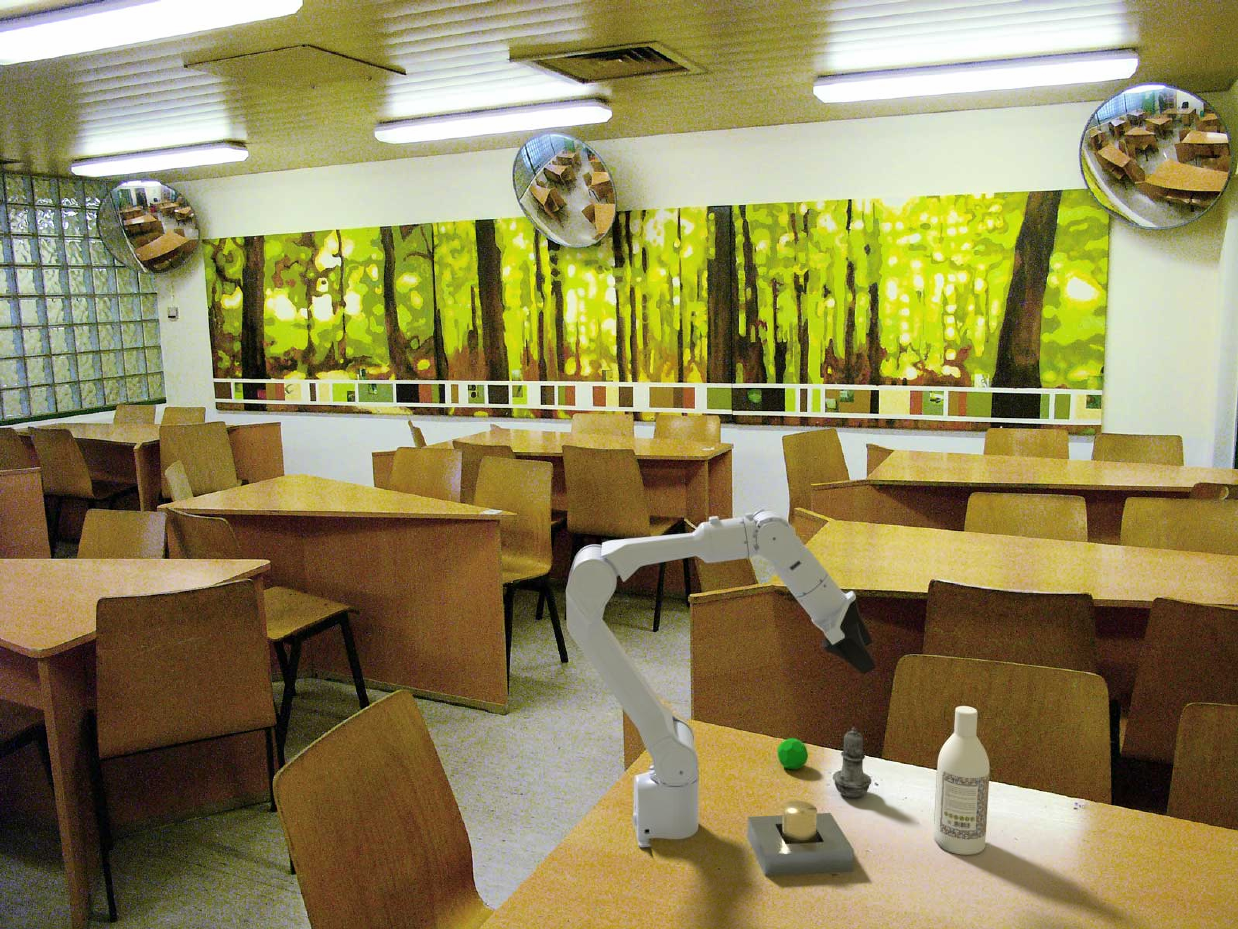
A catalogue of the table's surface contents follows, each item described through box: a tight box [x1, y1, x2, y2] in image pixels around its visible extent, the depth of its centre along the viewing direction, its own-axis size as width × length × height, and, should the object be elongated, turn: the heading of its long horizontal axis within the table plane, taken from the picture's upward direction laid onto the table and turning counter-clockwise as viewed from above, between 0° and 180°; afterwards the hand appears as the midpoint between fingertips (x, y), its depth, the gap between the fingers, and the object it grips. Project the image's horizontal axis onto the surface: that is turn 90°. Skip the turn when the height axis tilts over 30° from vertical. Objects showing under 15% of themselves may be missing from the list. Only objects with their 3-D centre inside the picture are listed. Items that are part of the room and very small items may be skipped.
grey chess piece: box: [832, 726, 872, 799], centre depth 152 cm, size 6×6×12 cm
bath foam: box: [933, 705, 991, 856], centre depth 139 cm, size 7×7×20 cm
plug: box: [782, 800, 818, 844], centre depth 135 cm, size 5×5×6 cm
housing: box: [747, 812, 855, 877], centre depth 136 cm, size 12×10×4 cm
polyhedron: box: [776, 737, 809, 771], centre depth 164 cm, size 5×5×5 cm
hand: (868, 657), depth 139 cm, fingers open, 7 cm apart
